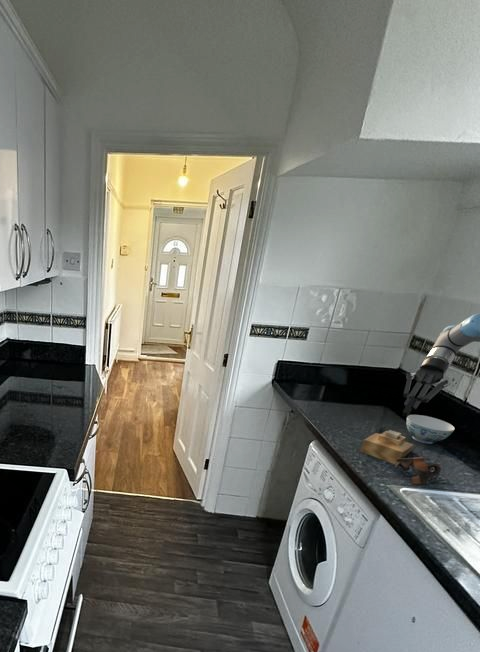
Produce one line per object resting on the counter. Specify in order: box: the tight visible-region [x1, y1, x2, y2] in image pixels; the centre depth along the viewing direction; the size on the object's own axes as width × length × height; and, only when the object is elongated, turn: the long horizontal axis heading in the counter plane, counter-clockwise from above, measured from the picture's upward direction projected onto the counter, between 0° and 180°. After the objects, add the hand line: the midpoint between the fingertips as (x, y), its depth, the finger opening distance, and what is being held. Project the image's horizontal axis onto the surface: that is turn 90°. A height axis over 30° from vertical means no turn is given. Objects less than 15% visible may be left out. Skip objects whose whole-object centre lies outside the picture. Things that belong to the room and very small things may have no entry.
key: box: [385, 429, 402, 439], centre depth 146 cm, size 4×4×2 cm
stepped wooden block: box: [359, 430, 414, 465], centre depth 146 cm, size 12×11×7 cm
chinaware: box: [406, 414, 455, 445], centre depth 161 cm, size 15×15×8 cm
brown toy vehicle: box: [393, 456, 442, 485], centre depth 132 cm, size 12×10×8 cm
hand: (404, 414), depth 147 cm, fingers closed
